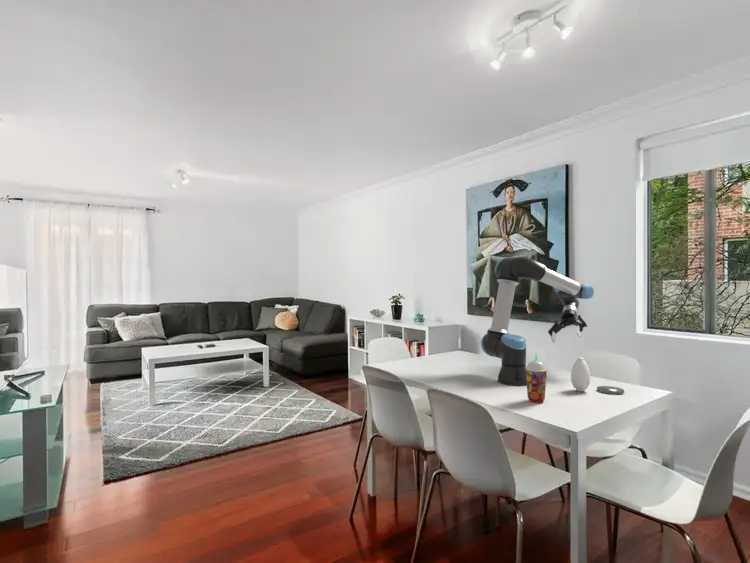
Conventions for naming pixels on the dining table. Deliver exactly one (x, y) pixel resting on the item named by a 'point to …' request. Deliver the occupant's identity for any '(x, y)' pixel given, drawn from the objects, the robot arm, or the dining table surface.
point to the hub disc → (610, 390)
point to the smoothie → (536, 381)
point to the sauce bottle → (580, 375)
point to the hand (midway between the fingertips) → (565, 337)
